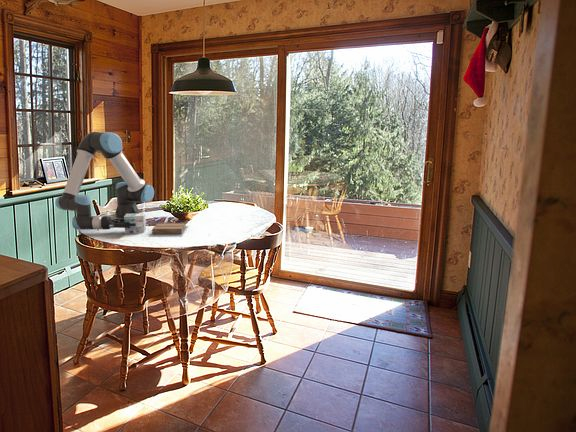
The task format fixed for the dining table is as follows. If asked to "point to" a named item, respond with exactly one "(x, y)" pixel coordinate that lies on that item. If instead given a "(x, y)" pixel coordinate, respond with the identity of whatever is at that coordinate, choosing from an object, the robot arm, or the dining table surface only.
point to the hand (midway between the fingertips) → (143, 222)
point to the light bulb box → (135, 218)
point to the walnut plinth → (169, 228)
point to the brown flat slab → (168, 234)
